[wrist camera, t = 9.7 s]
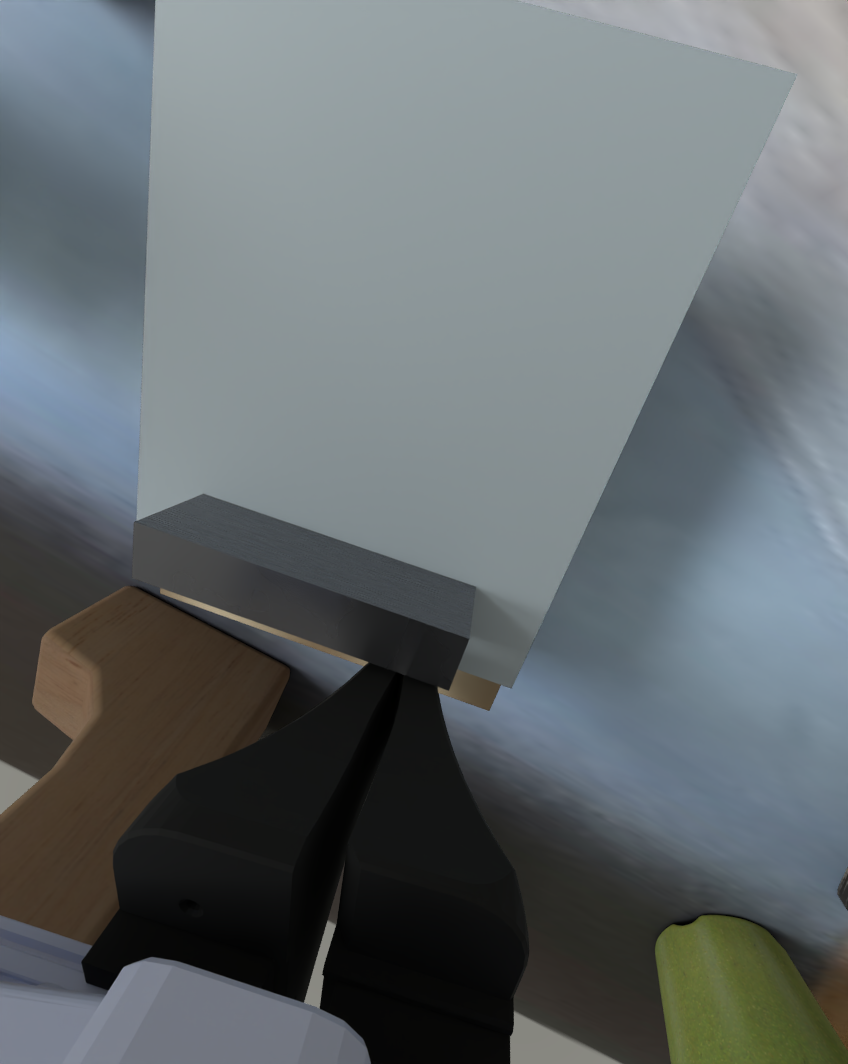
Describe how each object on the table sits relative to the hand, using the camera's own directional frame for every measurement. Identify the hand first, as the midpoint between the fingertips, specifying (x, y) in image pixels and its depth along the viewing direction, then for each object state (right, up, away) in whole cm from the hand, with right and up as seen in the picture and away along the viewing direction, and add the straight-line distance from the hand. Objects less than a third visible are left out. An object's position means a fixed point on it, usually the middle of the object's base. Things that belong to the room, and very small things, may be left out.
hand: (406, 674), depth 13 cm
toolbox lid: (-1, +8, -1) cm, 8 cm away
